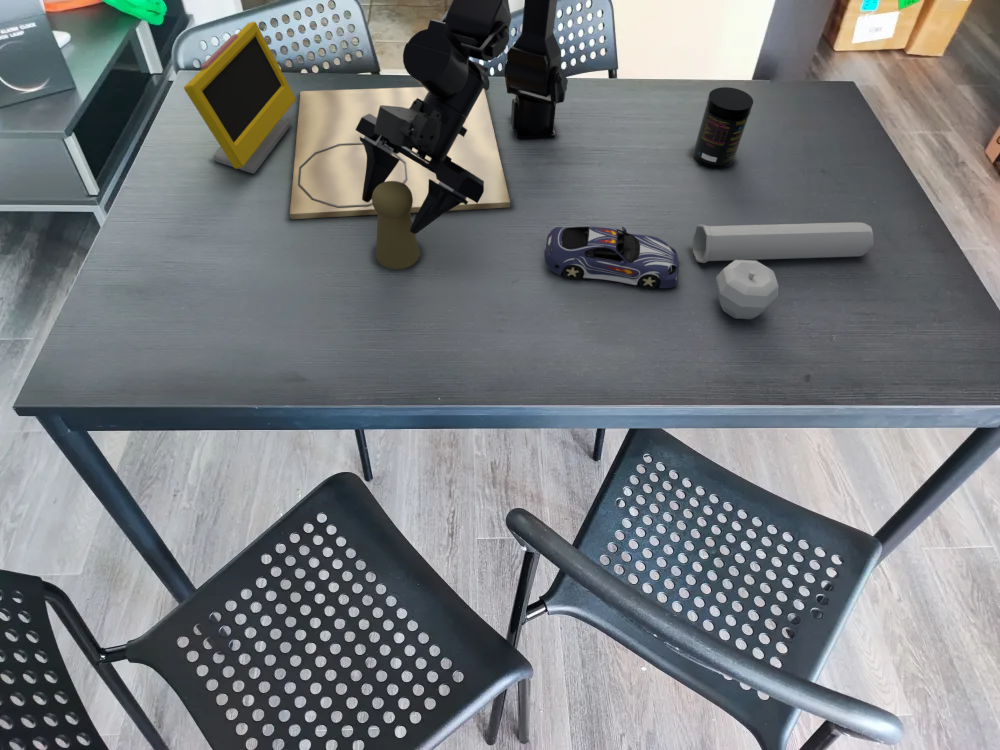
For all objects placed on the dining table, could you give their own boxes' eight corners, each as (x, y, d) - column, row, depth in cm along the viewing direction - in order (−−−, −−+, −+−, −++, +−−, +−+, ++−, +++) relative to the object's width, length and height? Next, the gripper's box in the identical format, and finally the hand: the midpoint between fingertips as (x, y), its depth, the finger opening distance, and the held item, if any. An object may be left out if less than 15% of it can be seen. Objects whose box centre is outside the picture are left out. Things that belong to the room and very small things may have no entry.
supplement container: (737, 153, 116) (757, 93, 108) (728, 174, 112) (748, 114, 104) (697, 142, 118) (714, 83, 110) (687, 163, 114) (704, 103, 106)
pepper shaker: (378, 239, 99) (369, 173, 91) (421, 240, 99) (416, 174, 91) (373, 268, 95) (364, 202, 87) (418, 269, 96) (413, 203, 87)
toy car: (677, 293, 94) (685, 265, 91) (540, 276, 96) (543, 247, 92) (676, 255, 99) (684, 227, 96) (546, 239, 101) (549, 210, 97)
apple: (695, 295, 94) (708, 258, 89) (745, 282, 96) (760, 245, 91) (728, 337, 90) (744, 300, 85) (779, 322, 92) (798, 286, 87)
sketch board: (483, 89, 126) (483, 84, 125) (510, 207, 105) (510, 201, 104) (301, 96, 123) (300, 90, 122) (290, 219, 101) (289, 213, 101)
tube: (865, 214, 100) (696, 218, 98) (886, 227, 96) (709, 232, 94) (854, 249, 103) (690, 254, 101) (874, 263, 99) (703, 269, 96)
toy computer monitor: (248, 187, 106) (219, 88, 94) (199, 179, 107) (165, 79, 95) (300, 117, 118) (280, 22, 106) (256, 111, 119) (232, 15, 107)
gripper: (357, 50, 85) (300, 167, 88) (468, 110, 77) (401, 234, 80) (409, 89, 95) (356, 192, 98) (512, 145, 87) (451, 255, 90)
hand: (388, 216), depth 91 cm, fingers open, 9 cm apart
